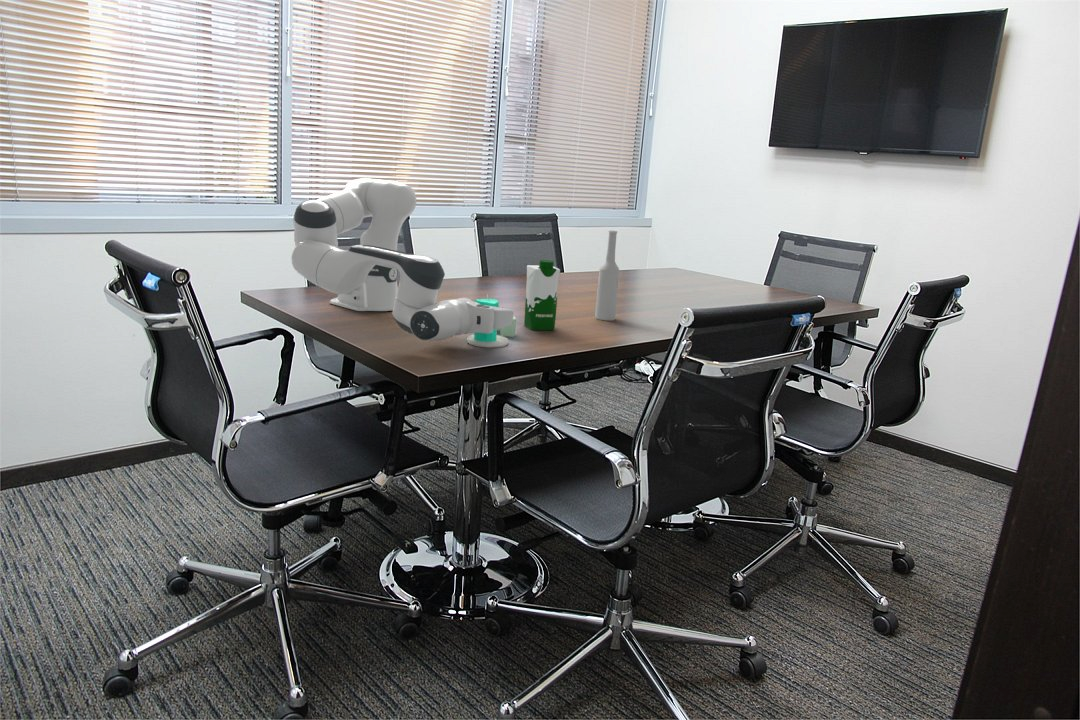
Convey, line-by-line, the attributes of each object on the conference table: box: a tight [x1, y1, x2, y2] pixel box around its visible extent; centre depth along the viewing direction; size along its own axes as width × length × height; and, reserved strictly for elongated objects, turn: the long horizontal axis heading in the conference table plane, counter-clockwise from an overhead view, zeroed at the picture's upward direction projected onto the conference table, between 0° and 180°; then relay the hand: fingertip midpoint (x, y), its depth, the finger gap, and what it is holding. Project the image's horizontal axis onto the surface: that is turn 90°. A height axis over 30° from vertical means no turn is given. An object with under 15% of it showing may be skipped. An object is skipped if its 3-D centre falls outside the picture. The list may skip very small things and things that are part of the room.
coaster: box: [466, 334, 509, 349], centre depth 203 cm, size 11×11×1 cm
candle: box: [473, 294, 500, 342], centre depth 200 cm, size 6×6×12 cm
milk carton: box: [523, 259, 561, 331], centre depth 223 cm, size 9×9×20 cm
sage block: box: [499, 315, 517, 338], centre depth 213 cm, size 4×4×5 cm
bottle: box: [594, 230, 621, 322], centre depth 242 cm, size 7×7×28 cm
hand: (490, 308), depth 201 cm, fingers closed on candle, 5 cm apart
